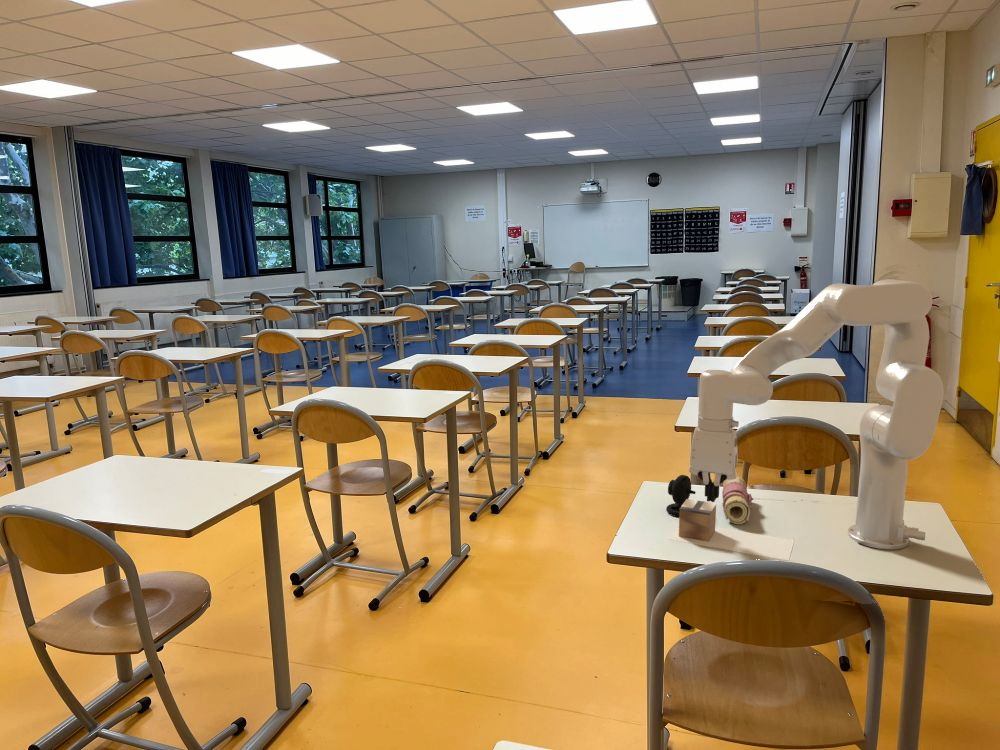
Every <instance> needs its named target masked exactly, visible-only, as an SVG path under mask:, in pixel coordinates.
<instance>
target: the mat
mask: <svg viewBox="0 0 1000 750" xmlns="http://www.w3.org/2000/svg"><path fill="white" fill-rule="evenodd" d="M669 540H670V541H675V542H681V543H687V544H693V545H698V546H704V547H709V548H713V549H714V548H715V549H721V550H727V551H731V552H736V553H737V552H738V553H741V554H748V555H754V556H759V557H764V558H768V559H769V558H770V559H776V560H780V559H781V560H782V561H786V560H789V561H790V558H791V554H792V550H793V547H794V543H795V539H788V538H784V537H777V536H772V535H765V534H760V533H754V532H747V531H743V530H741V531H740V530H736V529H729V528H724V527H718V526H715V532H714V534H713V536H712V537H711V539H710V541H709V542H707V541H701V540H695V539H690V538H684V537H679V526H678V527H677V528H676V530H675V531H674V532H673V534H672V535H671V537H670V538H669Z"/></svg>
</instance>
